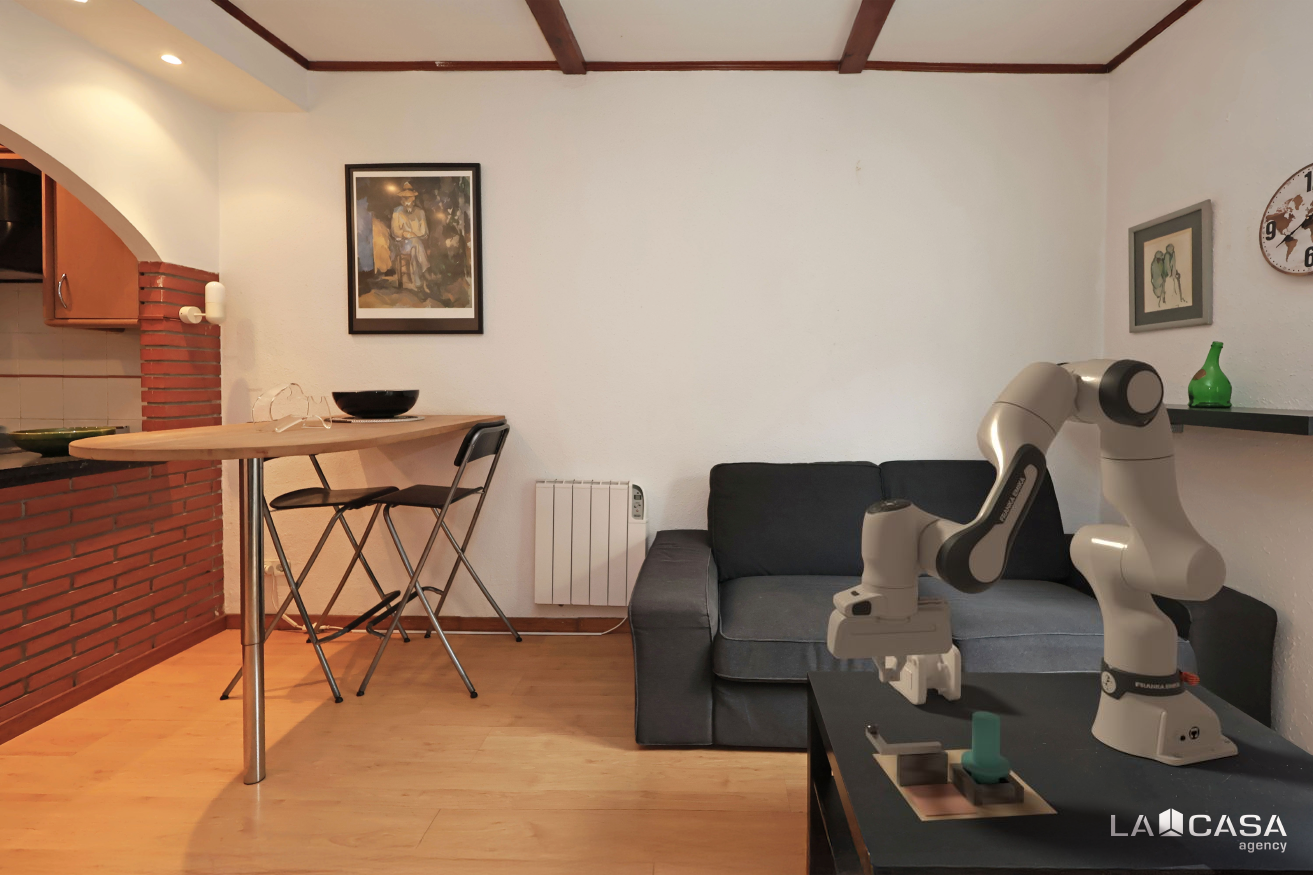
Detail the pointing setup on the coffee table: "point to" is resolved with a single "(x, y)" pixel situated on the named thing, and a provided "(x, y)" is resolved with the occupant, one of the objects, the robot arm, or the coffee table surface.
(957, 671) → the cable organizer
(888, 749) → the lever
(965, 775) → the socket board
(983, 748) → the plug
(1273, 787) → the coffee table surface
